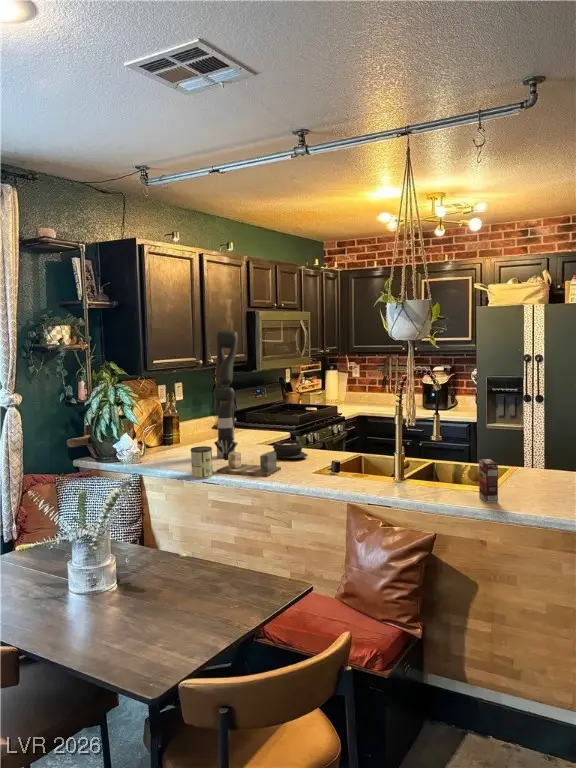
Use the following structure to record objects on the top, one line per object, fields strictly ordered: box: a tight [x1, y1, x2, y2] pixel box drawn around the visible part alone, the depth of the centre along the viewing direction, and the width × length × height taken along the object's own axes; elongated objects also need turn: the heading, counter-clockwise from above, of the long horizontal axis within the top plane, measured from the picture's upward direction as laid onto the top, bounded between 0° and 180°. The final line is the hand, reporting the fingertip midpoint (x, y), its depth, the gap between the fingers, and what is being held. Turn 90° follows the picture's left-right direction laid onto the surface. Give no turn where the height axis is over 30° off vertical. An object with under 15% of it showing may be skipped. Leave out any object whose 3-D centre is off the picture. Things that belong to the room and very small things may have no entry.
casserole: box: [270, 439, 309, 460], centre depth 342 cm, size 25×19×8 cm
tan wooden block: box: [227, 451, 242, 469], centre depth 311 cm, size 4×10×7 cm, turn 156°
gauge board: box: [216, 451, 282, 478], centre depth 310 cm, size 28×16×10 cm, turn 66°
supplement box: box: [478, 458, 499, 504], centre depth 246 cm, size 9×5×16 cm, turn 3°
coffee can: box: [190, 445, 214, 480], centre depth 301 cm, size 10×10×14 cm
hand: (226, 460), depth 314 cm, fingers closed
